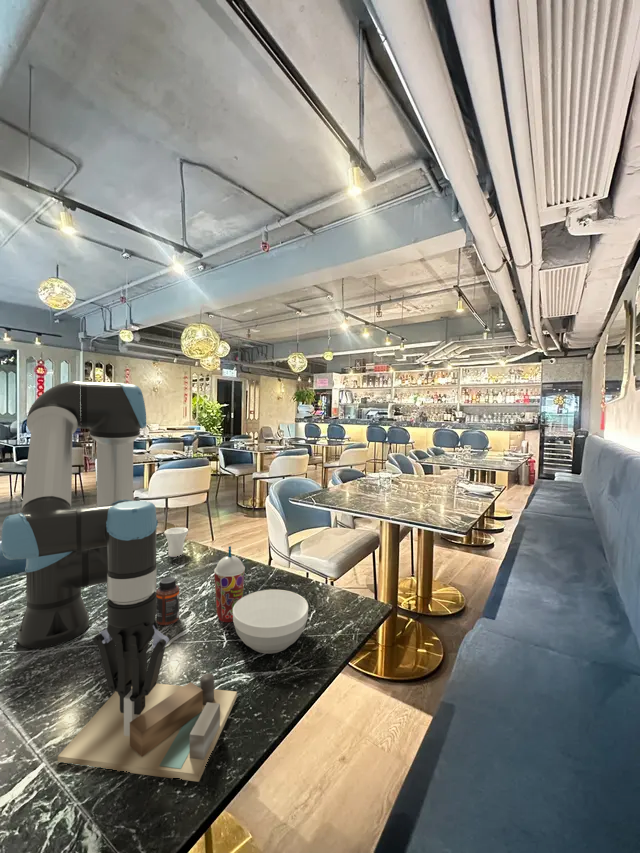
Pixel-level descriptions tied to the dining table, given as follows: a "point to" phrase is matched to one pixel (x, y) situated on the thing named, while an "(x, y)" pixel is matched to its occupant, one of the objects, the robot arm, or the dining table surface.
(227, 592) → the smoothie
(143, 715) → the leg
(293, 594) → the bowl
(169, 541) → the cup
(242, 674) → the dining table surface
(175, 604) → the supplement bottle
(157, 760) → the board
